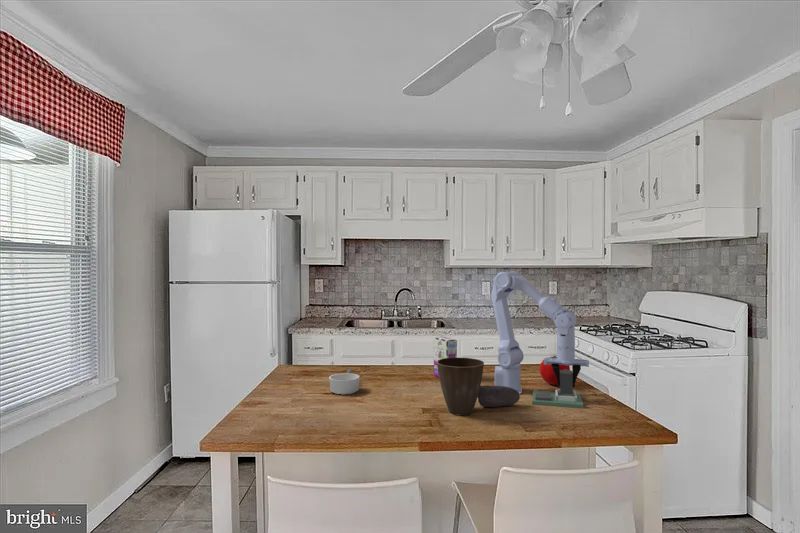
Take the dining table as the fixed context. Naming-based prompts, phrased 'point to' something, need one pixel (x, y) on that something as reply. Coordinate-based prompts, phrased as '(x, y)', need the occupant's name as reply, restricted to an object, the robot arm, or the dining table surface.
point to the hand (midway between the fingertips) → (566, 386)
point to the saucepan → (344, 383)
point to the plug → (566, 382)
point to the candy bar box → (443, 350)
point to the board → (557, 399)
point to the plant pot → (460, 383)
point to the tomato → (550, 372)
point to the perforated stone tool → (497, 396)
